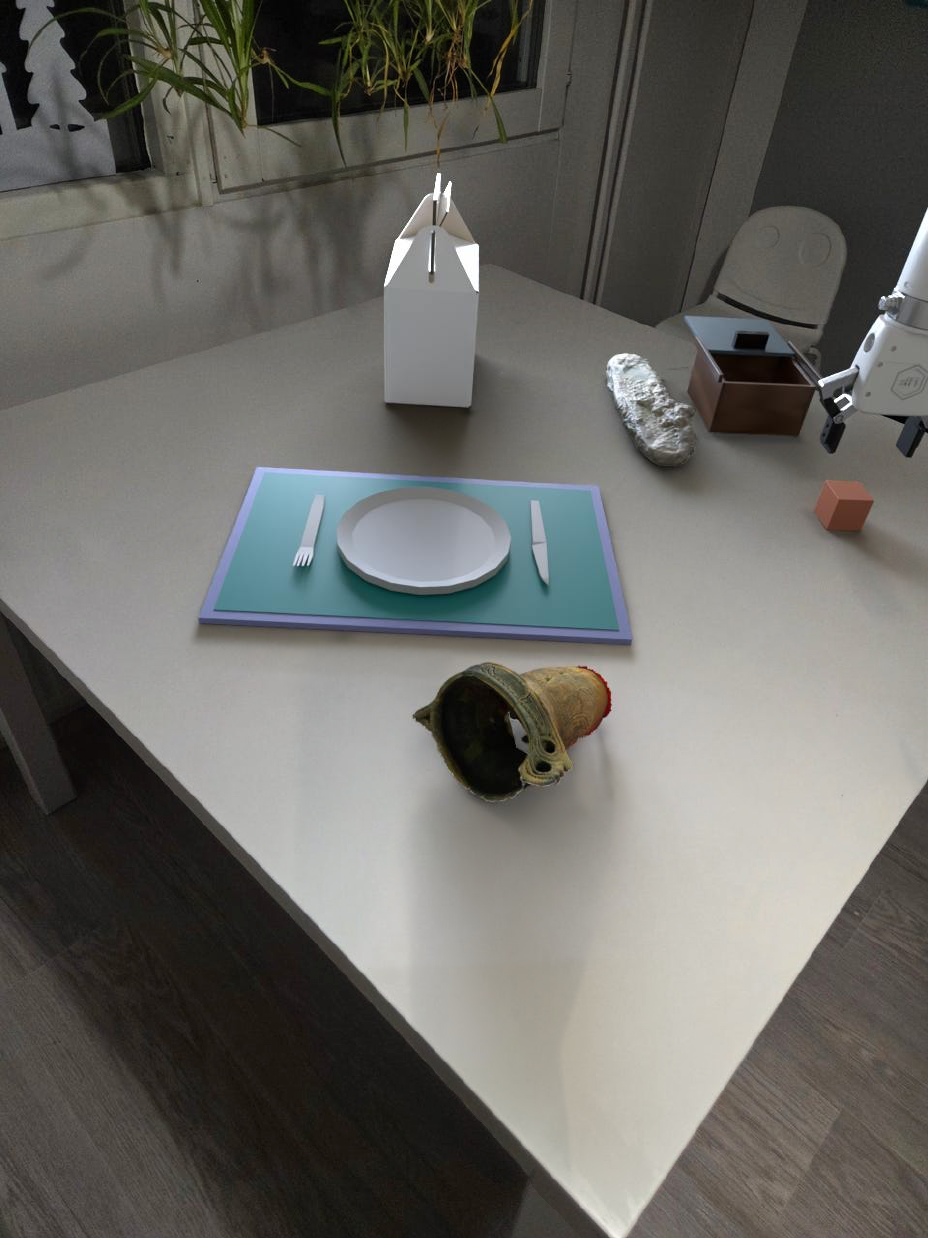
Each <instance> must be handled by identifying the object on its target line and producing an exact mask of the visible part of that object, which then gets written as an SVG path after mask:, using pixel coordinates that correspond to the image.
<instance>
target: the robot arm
mask: <svg viewBox="0 0 928 1238" xmlns="http://www.w3.org/2000/svg"><path fill="white" fill-rule="evenodd" d="M878 309H879V310H882V311H884V312H885V313H884V314H879V316H878V317H877V318H876V320H875V322H873V324H872V326H871V328H870V329H869V331H868V332H867V333H866V336H865V338H864V339H863V341H862V343H861V345H860V347H859V349H858V351H857V352H856V355H855V357H854V359H853V361H852V363H851V366H850V367H849V368H848V369H846V370H843V371H840V372H837V373H835V374H832V375H830V376H826V377H823V378H824V379H822V380H820V381H819V382H818V386H817V389H818V396H819V402H820V404H821V406H822V407H823V409H824V410H825V412H826V414H827V417H826V420H825V423H824V424H823V428H822V430H821V433H820V436H819V441H820V443H819V444H820V445H821V446H822V447H823V449H824V450H825V451H826V453H827V454H829V455H834V454H835V453H837V450H838V447H839V445H840V443H841V441H842V437H843V435H844V433H845V430H846V428H847V425H846V423H845V422H844V421H846V420H847V419H848V418H850V417H851V416H853V415H854V414H855V413H857V412H859V413H860V414H861V413H862V414H865V415H877V416H878V415H880V416H898V417H908V418H906V421H905V422H904V425H903V427H902V429H901V431H900V433H899V436H898V438H897V440H896V442H895V447H896V449H897V450H898V451H899V452H900V453H901V454H902V455H903V456H904V457H905V458H906V459H907V458H908V459H912V458H913V456H914V454H915V451H916V449H917V448H918V447H919V446H920V444H921V442H922V439H923V437H924V435H925V433H926V431H927V429H928V208H927V209H926V212H925V213H924V216H923V219H922V221H921V224H920V226H919V228H918V231H917V234H916V236H915V238H914V241H913V244H912V246H911V249H910V251H909V254H908V256H907V259H906V262H905V264H904V266H903V268H902V271H901V274H900V276H899V279H898V281H897V284H896V285H895V287H894V288H893V290H892V292H891V295H888V296H882V297H880V299H879V301H878ZM840 388H842V390H841V391H842V392H841V393H842V394H841V395H840V396H839V397H837V398H835V399H834V395H835V391H836V390H838V389H840Z"/></svg>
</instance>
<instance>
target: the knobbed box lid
mask: <svg viewBox="0 0 928 1238" xmlns="http://www.w3.org/2000/svg"><path fill="white" fill-rule="evenodd" d="M684 321H685V322H686V323H685V324H687V326H688V327H689V329H690V331H691V332H692V334H693V335H694V337H695V338H696V337H700V339H701V340H702V342H703V343H704V345H705V346H706V348H707V350H708V351H709V353H713V354H735V355H757V356H779V357H792V358H794V355H795V353H794V352H793V351H792V349H791V348H790V347H789V346H788V343H787V342H786V341H785V339H784V338H783V337H782V336H781V335H780V334H779V332H778V331H777V330H776V329H775V328H774V327H773V326H772V324H771V323H770V322H769V320H768V319H759V318H742V317H741V318H739V317H722V316H721V317H719V316H718V317H717V316H701V315H700V316H698V315H696V316H695V315H684Z"/></svg>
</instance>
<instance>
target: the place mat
mask: <svg viewBox="0 0 928 1238" xmlns="http://www.w3.org/2000/svg"><path fill="white" fill-rule="evenodd" d="M211 581H212V582H211V584H210V585H209V589H208V592H207V594H206V597H205V599H204V602H203V604H202V607H201V609H200V612H199V615H198V623H199V624H205V625H206V624H209V625H229V626H246V627H247V626H248V627H251V626H252V627H267V628H289V629H309V630H328V631H345V632H346V631H347V632H370V633H387V634H409V635H425V636H426V635H428V636H449V637H467V638H469V637H470V638H489V639H505V640H506V639H507V640H508V639H509V640H527V641H547V642H548V641H549V642H567V643H568V642H569V643H585V644H587V643H588V644H606V645H607V644H608V645H625V646H627V645H629V646H631V645H632V643H633V640H634V639H633V636H632V635H633V634H632V630H631V626H630V620H629V617H628V612H627V609H626V603H625V600H624V595H623V590H622V586H621V581H620V575H619V573H618V567H617V563H616V559H615V554H614V549H613V545H612V541H611V536H610V531H609V527H608V522H607V517H606V514H605V509H604V505H603V501H602V495H601V491H600V487H599V485H585V484H564V483H550V482H549V483H547V482H530V481H514V480H498V479H497V480H495V479H493V480H492V479H480V478H479V479H478V478H459V477H443V476H440V477H439V476H427V475H425V476H424V475H421V476H420V475H410V474H409V475H405V474H392V473H391V474H390V473H373V472H357V471H356V472H355V471H340V470H339V471H337V470H336V471H335V470H320V469H319V470H318V469H302V468H300V469H299V468H286V467H285V468H284V467H266V466H256V468H255V471H254V474H253V477H252V479H251V481H250V484H249V486H248V489H247V492H246V494H245V496H244V499H243V501H242V505H241V507H240V509H239V512H238V515H237V516H236V520H235V523H234V525H233V527H232V530H231V533H230V535H229V537H228V540H227V543H226V546H225V548H224V550H223V553H222V556H221V558H220V561H219V563H218V566H217V569H216V571H215V574H214V576H213V579H212V580H211Z"/></svg>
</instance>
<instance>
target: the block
mask: <svg viewBox="0 0 928 1238" xmlns="http://www.w3.org/2000/svg"><path fill="white" fill-rule="evenodd" d="M874 502H875V500H874V498H873V497H872V495H871V494H870V493H869V491H868V490H867V489H866V488H865V486H864V484H863V483H862V482H861V481H857V480H856V481H855V480H854V481H853V480H830V479H829V480H828V479H826V480H825V481H824V484H823V486H822V489H821V491H820V494H819V496H818V499H817V501H816V504H815V506H814V509H813V512H814V513H815V514H816V516H817V517H818V519H819V521H820V522H821V524H822V525H823V527H824V528H825V530H826V531H852V532H853V531H854V532H855V531H856V532H861V531H862V529H863V527H864V525H865V523H866V520H867V519H868V516H869V514H870V511H871V509H872V507H873V505H874Z"/></svg>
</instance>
